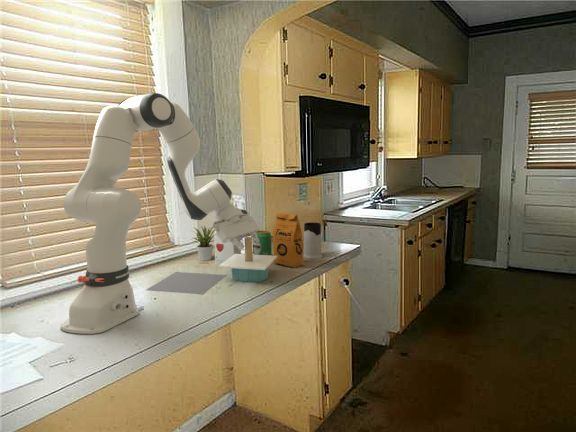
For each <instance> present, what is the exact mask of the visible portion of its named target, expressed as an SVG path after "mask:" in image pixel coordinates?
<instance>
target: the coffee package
mask: <svg viewBox="0 0 576 432" xmlns="http://www.w3.org/2000/svg"><path fill="white" fill-rule="evenodd" d="M275 217H276V220H275V222H274V226H273V231H272V240H273V241H272V245H273V247H272V248H273V256H277V258H276V259H275V260H274V261H273V263H274V264H277V265H281V266H285V267H290V268H293V269H295V268H297V267H301V266H303V265H304V257H303V255H304V239H303V233H302V229H301V223H300V221H299V218H298V215H297V214H288V213H281V212H279V213H278V212H277V213H276V214H275Z"/></svg>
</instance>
